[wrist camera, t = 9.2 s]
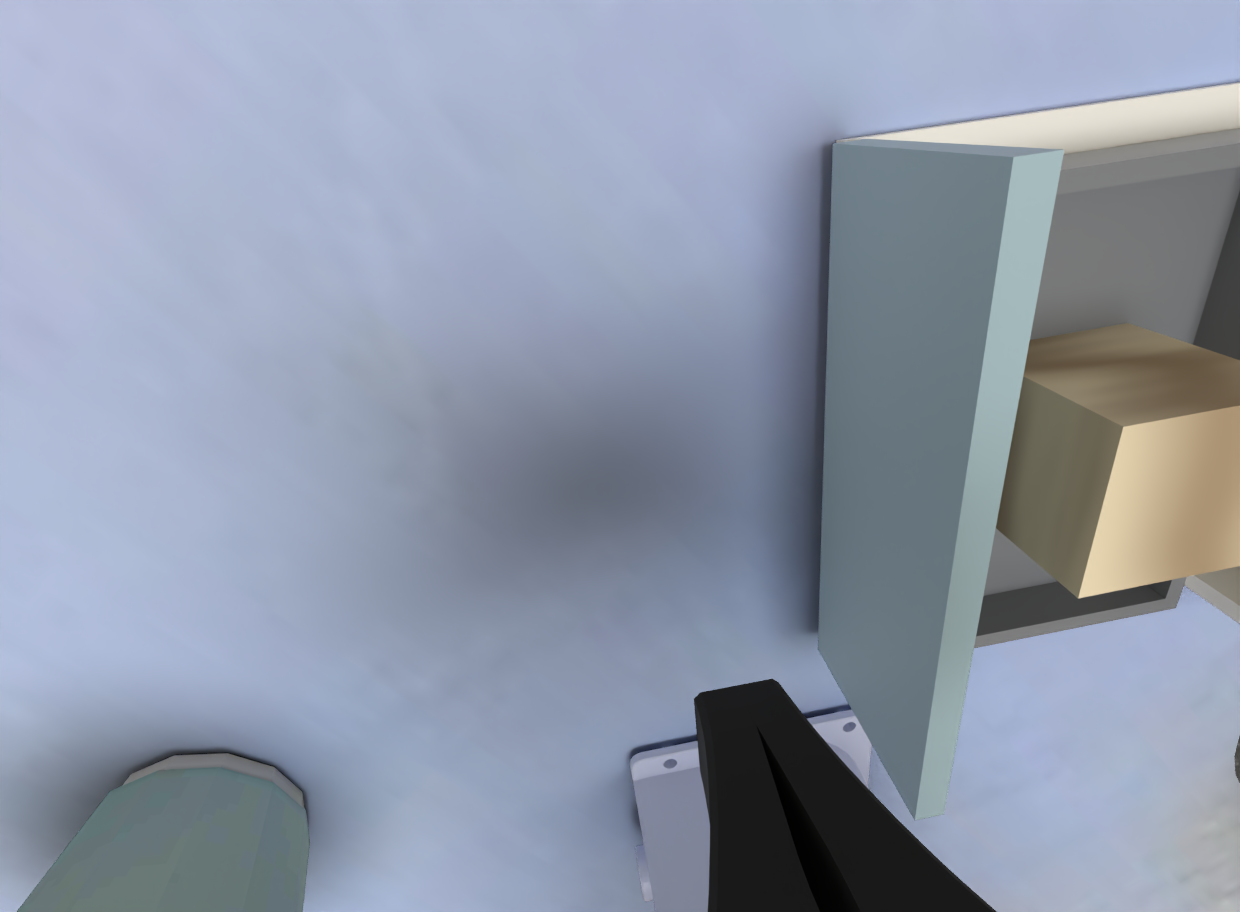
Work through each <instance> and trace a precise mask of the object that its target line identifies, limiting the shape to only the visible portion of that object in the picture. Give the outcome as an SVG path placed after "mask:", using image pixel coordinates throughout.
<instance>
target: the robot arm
mask: <svg viewBox="0 0 1240 912" xmlns="http://www.w3.org/2000/svg"><path fill="white" fill-rule="evenodd" d="M694 704H695V716H696V729H697V741H694V742H689V743H684V744H679V745H674V746H669V747H664V748H659V749H654V750H650V751H645V752H640V753H637V754H636V755H634V756H633V757H632V758H631V760H630V768H631V774H632V779H633V785H634V791H635V797H636V802H637V808H638V814H639V820H640V826H641V831H642V837H643V843H644V845H639V846H636V847H635V851H636V858H637V864H638V870H639V876H640V882H641V888H642V894H643V899H644V901H645V902H648V901H652V900H653V901H654V907H655V912H996V911H995V910H994V909H993V908H992V907H991V906H989V905H988V904H987V903H986V902H985V901H984V900H983V899H982V898H980V897H979V896H978V895H977V894H976V893H975V892H974V891H972V890H971V889H970V888H969V887H968V886H967V885H966V884H965V883H963V882H962V881H961V880H960V879H959V878H958V877H957V876H956V875H955V874H954V873H952V872H951V871H950V870H949V869H948V868H947V867H946V866H945V865H944V864H943V863H942V862H941V861H940V860H939V859H937V858H936V857H935V856H934V855H933V854H932V853H931V852H930V851H929V850H928V849H927V848H926V847H925V846H924V845H923V844H922V843H921V842H920V841H919V840H918V839H917V838H916V837H915V836H914V835H913V834H912V833H911V832H910V831H909V830H908V829H907V828H906V827H905V826H904V825H903V824H901V823H900V822H899V821H898V820H897V819H896V818H895V816H894V815H893V814H892V813H891V812H890V811H889V810H888V809H887V808H886V807H885V806H884V805H883V804H882V803H881V802H880V801H879V800H878V799H877V798H876V797H875V796H874V795H873V794H872V792H871V791H870V790H869V788H868V779H869V768H870V757H871V746H872V744H871V742H870V741H869V739H868V737H867V735H866V733H865V732H864V730H863V728H862V726H861V725H860V723H859V721H858V719H857V718H856V716H855V714H854V712H853V710H852V709H851V710H846V711H841V712H836V713H831V714H826V715H821V716H817V717H812V718H807V719H806V718H805V716H804V715H803V714H802V713H801V711H800V710H799V709H798V708H797V706H796V705H795V704H794V702H793V701H792V700H791V698H790V697H789V696H788V695H787V693H786V692H785V691H784V689H783V688H782V687H781V685H780V684H779V683H778V682H777V681H775V680H774V679H769V680H764V681H759V682H753V683H748V684H743V685H738V686H733V687H727V688H722V689H717V690H712V691H706V692H701V693H700V694H699V695H698V696H697V697H696V698H695V699H694Z"/></svg>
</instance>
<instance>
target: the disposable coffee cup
mask: <svg viewBox="0 0 1240 912" xmlns="http://www.w3.org/2000/svg"><path fill="white" fill-rule="evenodd" d="M309 845H310V839H309V831H308V823H307V815H306V810H305V809H304V800H303V792H302V791H301V790H299V789H298V788H297V787H296V786H295V785H294V784H293V783H292V782H290V781H289V780H288V779H287V778H286V777H285V776H284V775H283V774H281V773H280V772H279V771H278V770H277V769H276V768H275V767H272V766H269V765H265V764H262V763H259V762H255V761H252V760H248V759H245V758H242V757H238V756H235V755H231V754H228V753H220V754H197V755H174V756H172V757H169V758H167V759H165V760H162V761H160V762H158V763H155V764H153V765H151V766H149V767H146V768H144V769H142V770H139V771H137V772H135V773H132V774H131V775H130V776H129V777H128V779H127V780H126V781H125V782H124V784H123V785H122V786H121V787H118V788H116V789H114V790H111V791H110V792H109V793H108V794H107V796H106V797H105V798H104V799H103V801H102V802H101V803H100V805H99V806H98V807H97V809H96V810H95V811H94V812H93V814H92V815H91V816H90V818H89V819H88V820H87V821H86V823H85V824H84V825H83V827H82V828H81V829H80V831H79V832H78V833H77V834H76V836H75V837H74V838H73V840H72V841H71V842H70V843H69V845H68V846H67V847H66V849H65V850H64V851H63V852H62V854H61V855H60V856H59V858H58V859H57V860H56V862H55V863H54V864H53V865H52V867H51V868H50V869H49V871H48V872H47V873H46V874H45V876H44V877H43V878H42V880H41V881H40V882H39V884H38V885H37V886H36V887H35V889H34V890H33V891H32V893H31V894H30V895H29V896H28V898H27V899H26V900H25V902H24V903H23V904H22V906H21V907H20V908H19V909H18V911H17V912H303V903H304V894H305V884H306V874H307V865H308V855H309Z"/></svg>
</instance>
